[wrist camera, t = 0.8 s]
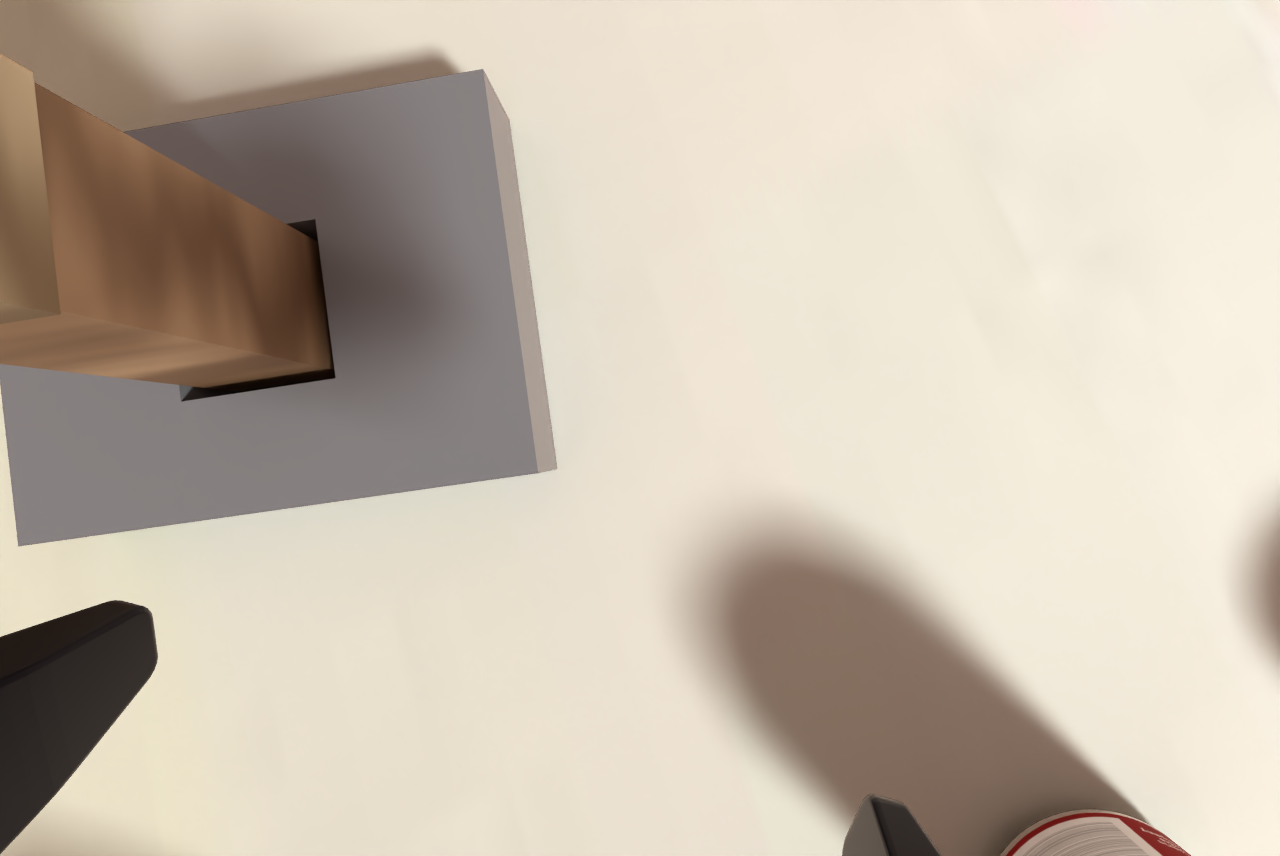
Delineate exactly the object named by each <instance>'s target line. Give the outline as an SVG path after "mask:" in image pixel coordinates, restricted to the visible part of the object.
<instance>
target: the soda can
mask: <svg viewBox="0 0 1280 856" xmlns="http://www.w3.org/2000/svg"><path fill="white" fill-rule="evenodd" d="M1000 856H1191V855H1190V854H1188V853H1187V852H1186V851H1185V850H1183V849H1182V848H1181V847H1180V846H1178V845H1177V844H1176V843H1175V842H1173V841H1172V840H1171V839H1170V838H1168V837H1167V836H1166V835H1164V834H1163V833H1162V832H1160V831H1159V830H1157V829H1155V828H1154V827H1152V826H1151V825H1149V824H1147V823H1145V822H1143V821H1141V820H1139V819H1136V818H1133V817H1131V816H1128V815H1125V814H1121V813H1118V812H1113V811H1107V810H1097V809H1081V810H1073V811H1067V812H1063V813H1059V814H1056V815H1053V816H1050V817H1047V818H1045V819H1043V820H1040V821H1039V822H1037V823H1035V824H1033V825H1031V826H1030V827H1028V828H1027V829H1026V830H1024V831H1023V832H1021V833H1020V834H1019V835H1018V836H1017V837H1016V838H1014V839H1013V841H1012V842H1011V843H1010V844H1009V845H1008V846H1007V847H1006V848H1005V850H1004V851H1003V852H1002V854H1001V855H1000Z"/></svg>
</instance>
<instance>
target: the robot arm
mask: <svg viewBox="0 0 1280 856" xmlns="http://www.w3.org/2000/svg"><path fill="white" fill-rule="evenodd" d="M157 660H158V653H157V645H156V638H155V630H154V623H153V617H152V613H151V612H150V611H149V609H148V608H146V607H144V606H140V605H136V604H132V603H128V602H125V601H117V600H114V601H109V602H105V603H102V604H99V605H96V606H93V607H90V608H87V609H84V610H81V611H78V612H75V613H72V614H69V615H66V616H63V617H59V618H56V619H53V620H50V621H47V622H44V623H41V624H38V625H35V626H32V627H29V628H26V629H23V630H20V631H17V632H14V633H11V634H8V635H5V636H2V637H0V854H1V853H2V852H3V851H4V850H5V849H6V848H7V847H8V845H9V844H10V843H11V842H12V841H13V840H14V839H15V838H16V837H17V836H18V835H19V834H20V833H21V832H22V831H23V829H24V828H25V827H26V826H27V825H28V824H29V823H30V822H31V821H32V820H33V819H34V818H35V817H36V816H37V815H38V813H39V812H40V811H41V810H42V809H43V808H44V807H45V806H46V805H47V804H48V802H49V801H50V800H51V799H52V798H53V797H54V796H55V795H56V794H57V792H58V791H59V790H60V789H61V788H62V786H63V785H64V784H65V783H66V782H67V780H68V779H69V778H70V777H71V776H72V774H73V773H74V772H75V771H76V770H77V768H78V767H79V766H80V765H81V763H82V762H83V761H84V760H85V758H86V757H87V756H88V755H89V753H90V752H91V751H92V750H93V748H94V747H95V746H96V745H97V743H98V742H99V741H100V740H101V738H102V737H103V736H104V735H105V733H106V732H107V731H108V730H109V728H110V727H111V726H112V725H113V723H114V722H115V721H116V720H117V718H118V717H119V716H120V715H121V713H122V712H123V711H124V710H125V708H126V707H127V706H128V705H129V703H130V702H131V701H132V700H133V698H134V697H135V696H136V695H137V693H138V692H139V691H140V690H141V688H142V687H143V686H144V685H145V683H146V682H147V681H148V679H149V678H150V677H151V675H152V673H153V671H154V670H155V667H156V664H157ZM842 856H941V854H940V853H939V851H938V850H937V848H936V847H935V846H934V844H933V843H932V841H931V840H930V838H929V837H928V836H927V834H926V833H925V831H924V830H923V828H922V827H921V826H920V824H919V823H918V821H917V820H916V818H915V817H914V816H913V814H912V813H911V811H910V810H909V809H908V807H906V806H905V805H904V804H903V803H902V802H900V801H897V800H894V799H890V798H886V797H882V796H878V795H874V794H870V795H867V796H866V797H865V798H864V800H863V801H862V803H861V805H860V807H859V810H858V812H857V814H856V816H855V818H854V820H853V823H852V825H851V827H850V829H849V831H848V834H847V836H846V838H845V842H844V846H843V854H842Z"/></svg>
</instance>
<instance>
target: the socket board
mask: <svg viewBox="0 0 1280 856" xmlns="http://www.w3.org/2000/svg"><path fill="white" fill-rule="evenodd" d="M123 133H125V134H127V135H129V136H130V137H132V138H134V139H136V140H138V141H139V142H141V143H143V144H145V145H146V146H148V147H150V148H152V149H154V150H155V151H157V152H159V153H161V154H162V155H164V156H166V157H168V158H170V159H171V160H173V161H175V162H177V163H178V164H180V165H182V166H184V167H186V168H187V169H189V170H191V171H193V172H194V173H196V174H198V175H200V176H202V177H203V178H205V179H207V180H209V181H210V182H212V183H214V184H216V185H218V186H219V187H221V188H223V189H225V190H226V191H228V192H230V193H232V194H234V195H235V196H237V197H239V198H241V199H242V200H244V201H246V202H248V203H250V204H251V205H253V206H255V207H257V208H258V209H260V210H262V211H264V212H266V213H267V214H269V215H271V216H273V217H274V218H276V219H278V220H280V221H282V222H283V223H285V224H287V225H289V226H290V227H292V228H294V229H296V230H298V231H299V232H301V233H303V234H305V235H306V236H308V237H310V238H312V239H314V240H315V241H317V242H318V243H319V251H320V259H321V267H322V275H323V283H324V291H325V298H326V306H327V314H328V322H329V330H330V338H331V345H332V353H333V361H334V369H335V377H336V378H334V379H328V380H321V381H314V382H308V383H301V384H294V385H288V386H281V387H275V388H268V389H261V390H255V391H248V392H234V391H226V390H217V389H209V388H200V387H192V386H183V385H175V384H166V383H158V382H149V381H141V380H132V379H124V378H115V377H106V376H98V375H89V374H81V373H72V372H64V371H55V370H47V369H38V368H30V367H21V366H13V365H4V364H0V385H1V394H2V403H3V412H4V421H5V430H6V439H7V448H8V457H9V466H10V475H11V484H12V493H13V502H14V511H15V520H16V529H17V538H18V546H24V545H32V544H39V543H46V542H53V541H60V540H67V539H74V538H81V537H88V536H95V535H102V534H109V533H117V532H124V531H131V530H138V529H145V528H152V527H159V526H166V525H173V524H180V523H187V522H195V521H202V520H209V519H216V518H223V517H230V516H237V515H244V514H251V513H258V512H265V511H272V510H280V509H287V508H294V507H301V506H308V505H315V504H322V503H329V502H336V501H343V500H350V499H358V498H365V497H372V496H379V495H386V494H393V493H400V492H407V491H414V490H421V489H428V488H435V487H443V486H450V485H457V484H464V483H471V482H478V481H485V480H492V479H499V478H506V477H513V476H520V475H528V474H535V473H541V472H545V471H550V470H555V469H557V463H556V456H555V449H554V442H553V434H552V427H551V420H550V413H549V405H548V398H547V391H546V384H545V376H544V369H543V362H542V354H541V347H540V340H539V333H538V325H537V318H536V311H535V304H534V296H533V289H532V282H531V275H530V267H529V260H528V253H527V246H526V238H525V231H524V224H523V216H522V209H521V202H520V195H519V187H518V180H517V173H516V166H515V158H514V151H513V144H512V137H511V129H510V122H509V118H508V116H507V114H506V112H505V111H504V109H503V107H502V105H501V103H500V101H499V99H498V97H497V95H496V93H495V91H494V89H493V87H492V85H491V84H490V82H489V80H488V78H487V76H486V74H485V72H484V70H483V69H481V70H475V71H469V72H464V73H458V74H452V75H446V76H441V77H435V78H429V79H424V80H418V81H412V82H406V83H401V84H395V85H389V86H384V87H378V88H372V89H366V90H361V91H355V92H349V93H344V94H338V95H332V96H326V97H321V98H315V99H309V100H304V101H298V102H292V103H286V104H281V105H275V106H269V107H264V108H258V109H252V110H246V111H241V112H235V113H229V114H224V115H218V116H212V117H206V118H201V119H195V120H189V121H184V122H178V123H172V124H166V125H161V126H155V127H149V128H144V129H138V130H132V131H126V132H123Z"/></svg>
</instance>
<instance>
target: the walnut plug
mask: <svg viewBox="0 0 1280 856" xmlns="http://www.w3.org/2000/svg"><path fill="white" fill-rule="evenodd" d="M0 364H4V365H13V366H21V367H30V368H38V369H47V370H55V371H64V372H72V373H81V374H89V375H98V376H106V377H115V378H124V379H132V380H141V381H149V382H158V383H166V384H175V385H183V386H192V387H200V388H209V389H217V390H226V391H234V392H248V391H255V390H261V389H268V388H275V387H281V386H288V385H294V384H301V383H308V382H314V381H321V380H328V379H334V378H336V377H335V369H334V361H333V353H332V345H331V338H330V330H329V322H328V314H327V306H326V298H325V291H324V283H323V275H322V267H321V259H320V251H319V243H318V242H317V241H315V240H314V239H312V238H310V237H308V236H306V235H305V234H303V233H301V232H299V231H298V230H296V229H294V228H292V227H290V226H289V225H287V224H285V223H283V222H282V221H280V220H278V219H276V218H274V217H273V216H271V215H269V214H267V213H266V212H264V211H262V210H260V209H258V208H257V207H255V206H253V205H251V204H250V203H248V202H246V201H244V200H242V199H241V198H239V197H237V196H235V195H234V194H232V193H230V192H228V191H226V190H225V189H223V188H221V187H219V186H218V185H216V184H214V183H212V182H210V181H209V180H207V179H205V178H203V177H202V176H200V175H198V174H196V173H194V172H193V171H191V170H189V169H187V168H186V167H184V166H182V165H180V164H178V163H177V162H175V161H173V160H171V159H170V158H168V157H166V156H164V155H162V154H161V153H159V152H157V151H155V150H154V149H152V148H150V147H148V146H146V145H145V144H143V143H141V142H139V141H138V140H136V139H134V138H132V137H130V136H129V135H127V134H125V133H123V132H122V131H120V130H118V129H116V128H114V127H113V126H111V125H109V124H107V123H106V122H104V121H102V120H100V119H98V118H97V117H95V116H93V115H91V114H89V113H88V112H86V111H84V110H82V109H81V108H79V107H77V106H75V105H73V104H72V103H70V102H68V101H66V100H65V99H63V98H61V97H59V96H57V95H56V94H54V93H52V92H50V91H49V90H47V89H45V88H43V87H41V86H40V85H38V84H36V83H34V76H33V72H32V71H30V70H28V69H26V68H25V67H23V66H21V65H19V64H18V63H16V62H14V61H13V60H11V59H9V58H7V57H6V56H4V55H2V54H0Z"/></svg>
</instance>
